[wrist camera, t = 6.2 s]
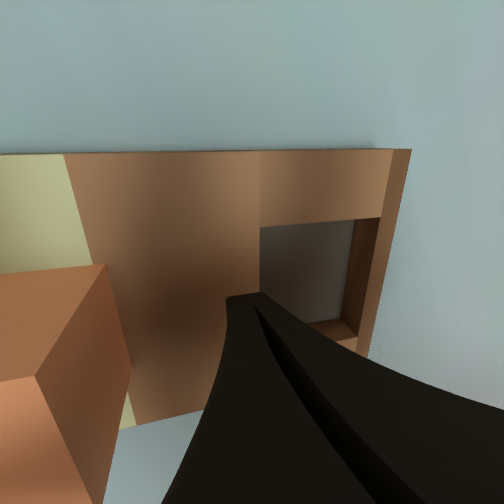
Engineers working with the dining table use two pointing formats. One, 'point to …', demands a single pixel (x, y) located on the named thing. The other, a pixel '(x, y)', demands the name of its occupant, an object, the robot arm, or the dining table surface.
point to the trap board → (208, 246)
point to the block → (59, 384)
